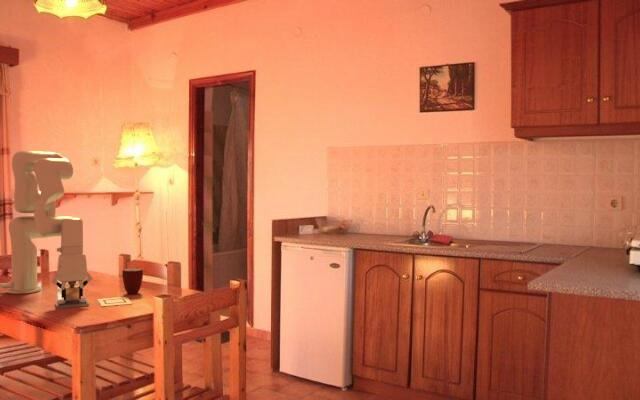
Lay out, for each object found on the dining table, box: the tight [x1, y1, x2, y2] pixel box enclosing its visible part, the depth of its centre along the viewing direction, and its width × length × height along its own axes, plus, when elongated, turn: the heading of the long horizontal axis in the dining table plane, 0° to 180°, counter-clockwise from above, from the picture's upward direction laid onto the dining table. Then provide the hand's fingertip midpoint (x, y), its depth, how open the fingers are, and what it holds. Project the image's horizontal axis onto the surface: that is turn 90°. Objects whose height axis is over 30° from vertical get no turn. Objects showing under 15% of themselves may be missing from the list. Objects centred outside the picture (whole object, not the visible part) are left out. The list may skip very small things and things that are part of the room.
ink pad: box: [54, 297, 90, 310], centre depth 211 cm, size 11×9×2 cm
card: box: [97, 296, 133, 308], centre depth 217 cm, size 11×14×1 cm
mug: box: [121, 267, 144, 295], centre depth 235 cm, size 10×8×10 cm
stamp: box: [65, 281, 80, 302], centre depth 211 cm, size 4×4×9 cm
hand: (72, 298), depth 211 cm, fingers closed on stamp, 4 cm apart
